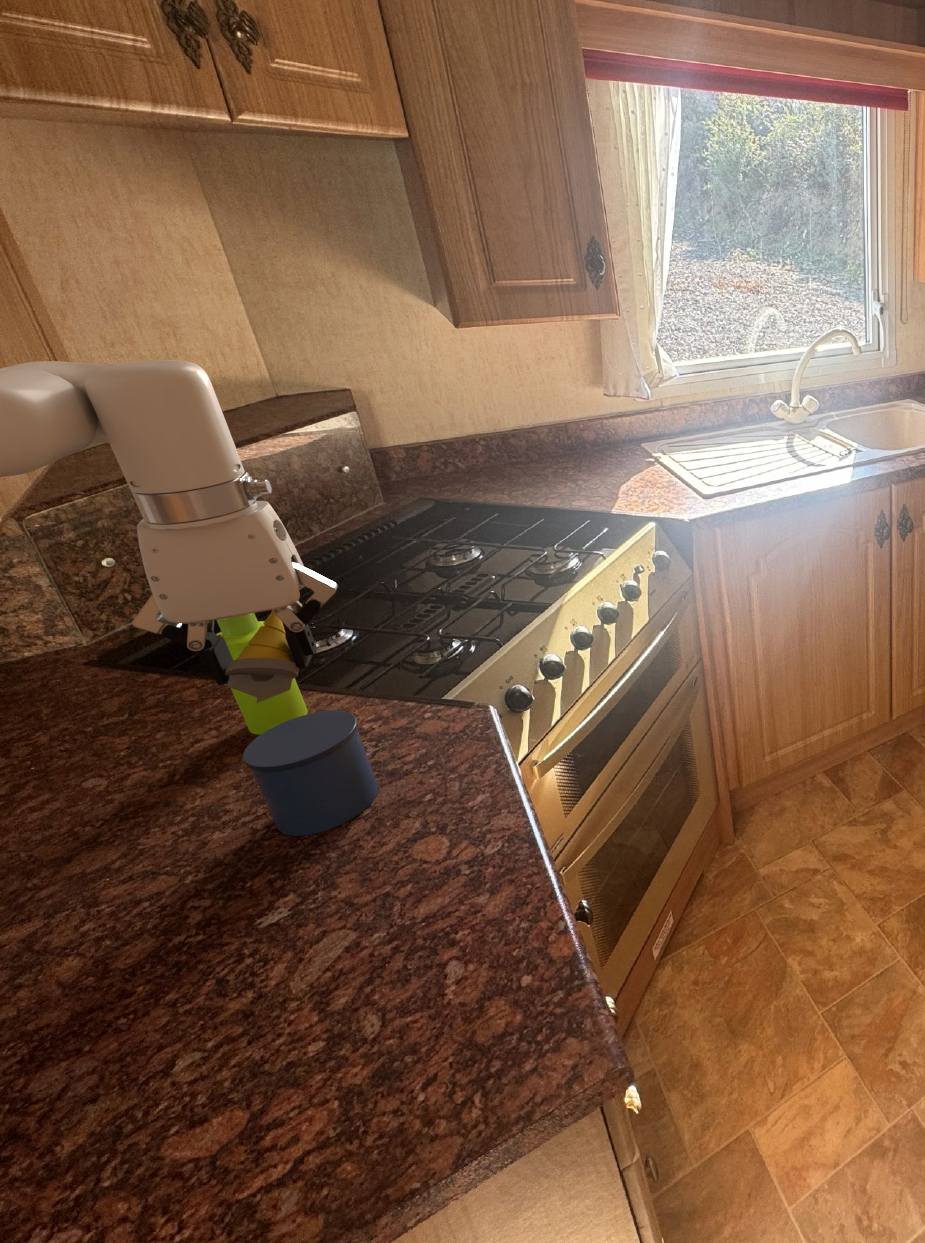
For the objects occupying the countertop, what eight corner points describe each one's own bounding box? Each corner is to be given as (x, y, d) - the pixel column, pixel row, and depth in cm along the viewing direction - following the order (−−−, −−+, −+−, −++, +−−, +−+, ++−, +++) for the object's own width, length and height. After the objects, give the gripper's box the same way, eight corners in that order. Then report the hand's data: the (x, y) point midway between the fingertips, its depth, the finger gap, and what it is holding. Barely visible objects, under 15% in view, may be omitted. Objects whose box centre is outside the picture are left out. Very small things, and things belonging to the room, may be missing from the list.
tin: (263, 850, 76) (230, 778, 72) (285, 793, 83) (256, 725, 80) (374, 817, 80) (348, 748, 76) (385, 766, 87) (362, 701, 84)
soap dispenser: (316, 721, 95) (261, 583, 87) (245, 740, 92) (182, 598, 84) (319, 699, 100) (267, 565, 92) (252, 716, 96) (193, 579, 88)
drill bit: (216, 709, 71) (239, 612, 75) (288, 710, 75) (306, 617, 79) (220, 695, 68) (244, 594, 72) (295, 697, 72) (314, 601, 76)
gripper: (323, 475, 74) (376, 632, 81) (85, 502, 66) (167, 673, 73) (307, 497, 68) (366, 665, 75) (43, 530, 60) (136, 713, 67)
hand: (266, 667), depth 74 cm, fingers closed on drill bit, 5 cm apart
